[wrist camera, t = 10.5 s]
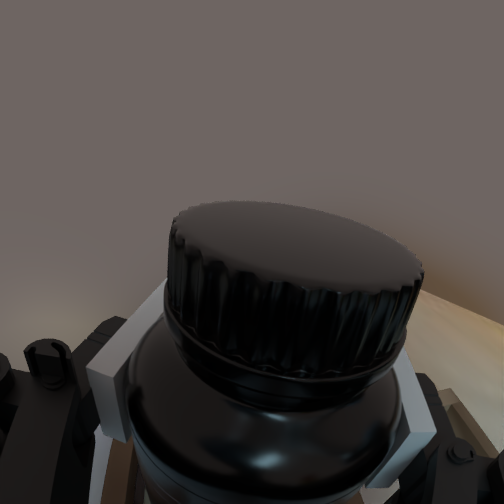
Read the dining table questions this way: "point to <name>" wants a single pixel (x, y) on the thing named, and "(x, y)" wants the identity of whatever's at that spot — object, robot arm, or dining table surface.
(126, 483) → the notch rail
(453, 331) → the dining table surface
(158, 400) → the supplement bottle
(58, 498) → the robot arm
